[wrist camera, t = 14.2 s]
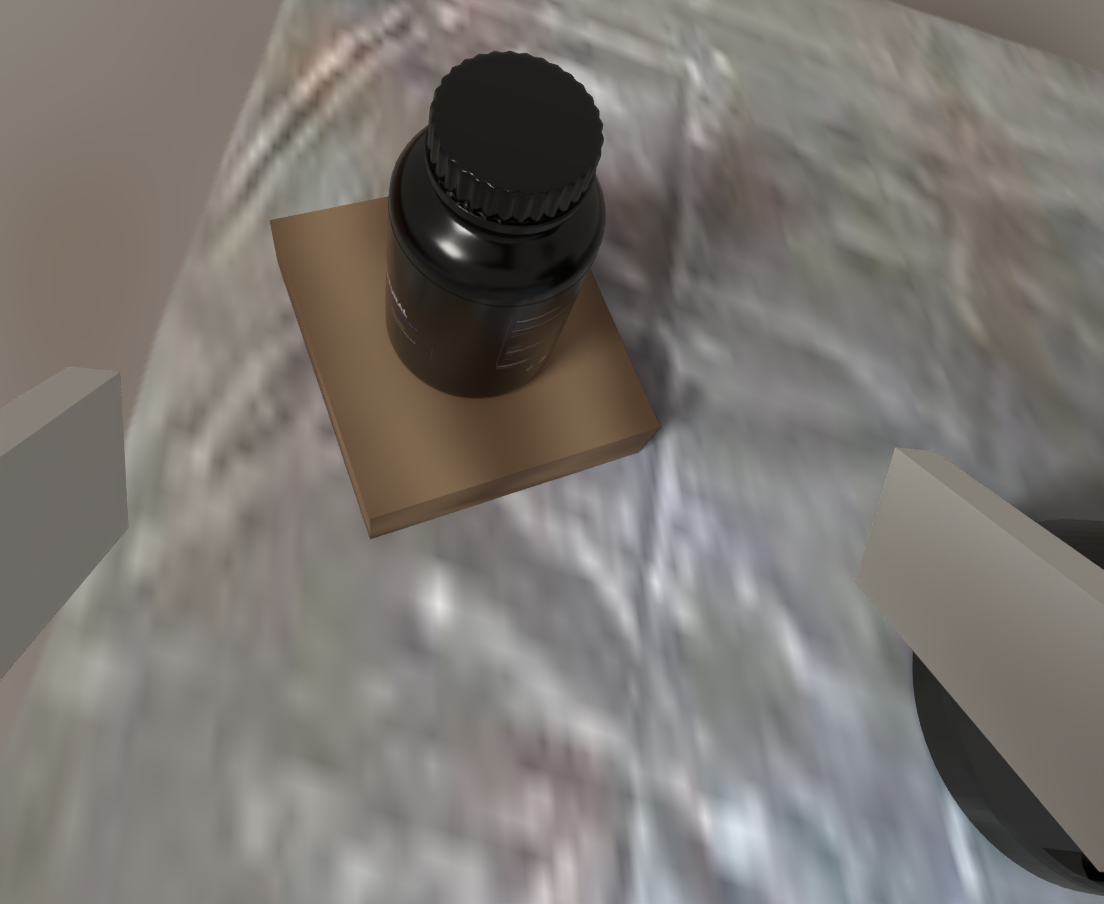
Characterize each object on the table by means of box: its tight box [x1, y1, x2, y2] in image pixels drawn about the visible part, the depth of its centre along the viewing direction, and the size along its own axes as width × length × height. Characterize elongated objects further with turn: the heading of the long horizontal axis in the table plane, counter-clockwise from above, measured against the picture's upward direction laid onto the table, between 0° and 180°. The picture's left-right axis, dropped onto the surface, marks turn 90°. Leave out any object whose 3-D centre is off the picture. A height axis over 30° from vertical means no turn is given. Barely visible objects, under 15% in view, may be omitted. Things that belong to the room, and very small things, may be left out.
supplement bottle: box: [385, 51, 605, 399], centre depth 28 cm, size 7×7×12 cm
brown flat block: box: [270, 197, 660, 539], centre depth 35 cm, size 12×13×3 cm
